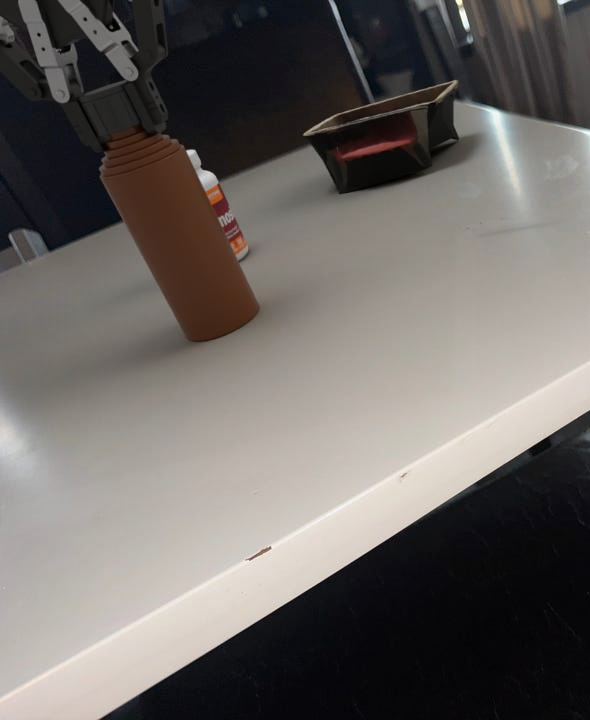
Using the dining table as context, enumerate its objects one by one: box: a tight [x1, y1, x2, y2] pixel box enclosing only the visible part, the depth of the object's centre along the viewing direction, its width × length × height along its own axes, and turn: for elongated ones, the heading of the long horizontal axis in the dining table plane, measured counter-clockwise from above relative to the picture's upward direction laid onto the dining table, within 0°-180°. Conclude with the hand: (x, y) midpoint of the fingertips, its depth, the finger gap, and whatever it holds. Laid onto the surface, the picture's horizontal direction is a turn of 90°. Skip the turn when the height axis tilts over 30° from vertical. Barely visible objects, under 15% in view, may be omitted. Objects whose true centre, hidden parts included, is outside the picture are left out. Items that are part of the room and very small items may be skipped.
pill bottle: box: [186, 149, 249, 262], centre depth 76 cm, size 6×6×11 cm
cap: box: [78, 79, 142, 136], centre depth 55 cm, size 4×4×3 cm
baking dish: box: [302, 79, 460, 195], centre depth 89 cm, size 14×18×10 cm
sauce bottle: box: [98, 123, 260, 342], centre depth 60 cm, size 6×6×18 cm
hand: (131, 139), depth 56 cm, fingers closed on cap, 3 cm apart
